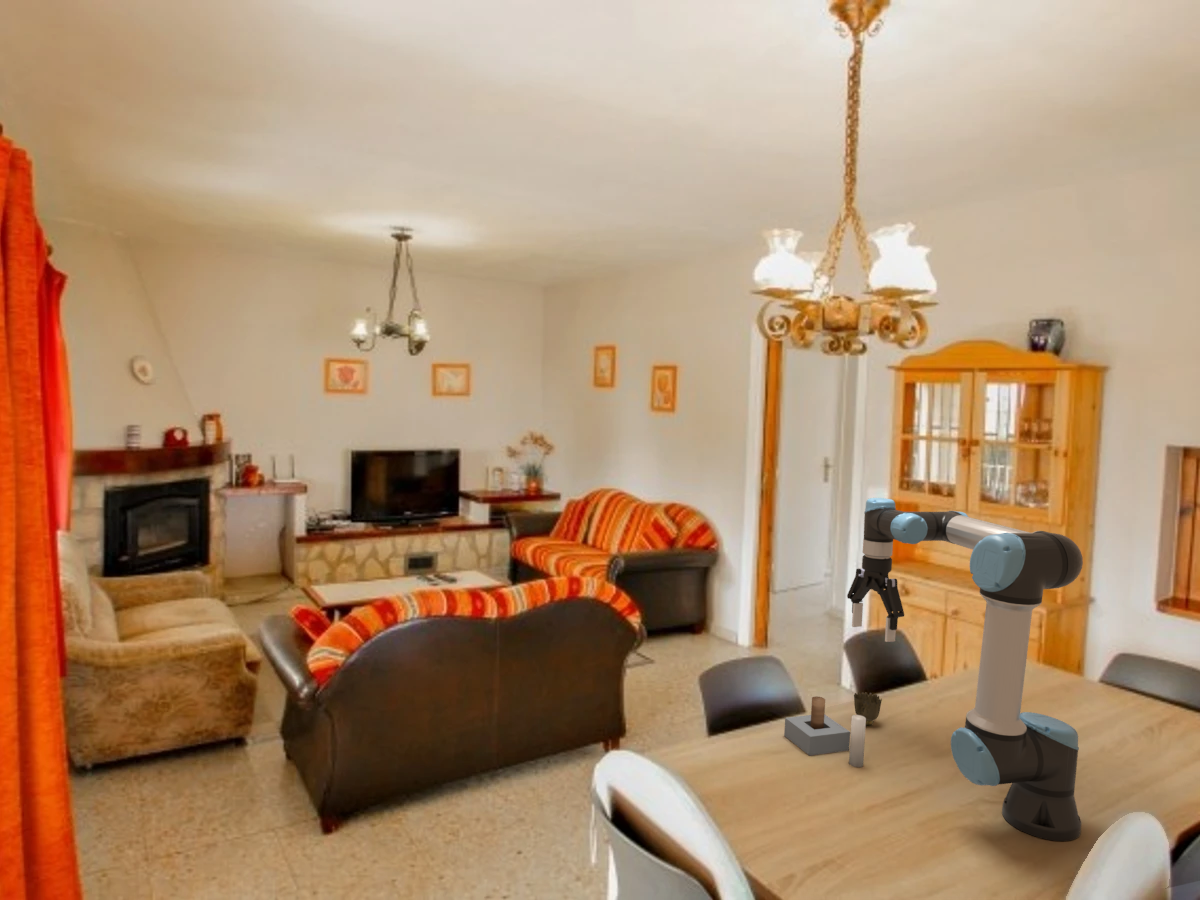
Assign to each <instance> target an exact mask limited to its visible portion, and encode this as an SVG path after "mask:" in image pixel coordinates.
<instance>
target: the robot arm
mask: <svg viewBox="0 0 1200 900" xmlns="http://www.w3.org/2000/svg"><path fill="white" fill-rule="evenodd" d="M864 510H865V511H864V518H863V519H864V521H863V522H864V523H863V540H862V541H863V542H862V553H863V556H862V558H861V559H862V560H861V568H856V571H855V576H854V579H853V581H852V583H851V585H850V588H849V591H848V593H847V595H846V597H847V599H850V601H851V606H852V607H851V613H852V618H851V619H852V620H851V627H852V628H858V627H863V614H864V613H863V611H864V610H863V609H864V608H863V607H864V603H863V599H864V598H865V597H866V595H867V594H868V593H869V591H870V590H872V591H874V592H876V593H877V595H879V596H880V598H881V601H882V603H883V606H884V608H885V610H886V612H887V614H888V615H887V616H886V618H885V629H884V631H885V632H884V642H886V643H889V642H890V643H891V642H896V634H897V633H896V632H897V629H898V619H899V618H903V617H905V612H904V607H903V604H902V603H903V602H902V600H901V599H902V598H901V595H900V592H899V589H898V579H897V578H890V577H889V574H890V573H891V572H892V567H893V565H892V564H893V558H892V556H893V551H894V549H893V545H894V544H893V543H894V540H895V541H898V542H901V543H902V544H910V545H916V544H919V543H921V542H928V541H929V542H933V541H934V542H935V541H938V542H939V541H940V542H941V541H942V542H946V543H949V544H954V545H956V546H960V547H963V548H967V549H970V550H972V552H971V554H970V559H969V571H970V574H972V576H971V579H972V581H973V582H974V584H975V585H976V586H977V587H978V588H979V595H980V596H981V597H982V599H984V601H986V604H985V613H984V623H983V630H982V631H983V633H982V638H981V639H982V641H981V649H980V659H979V665H978V666H979V668H978V675H977V676H978V677H977V685H976V686H977V687H976V694H975V695H976V696H975V706H974V707H973V708H972V709H970V710H968V711H967V712H966V716H965V724H964V727H959V728H957V729H956V730H954V731H953V733H952V734H951V737H950V750H951V754H952V756H953V757H952V758H953V761H954V763H955V764H956V767H957V769H959V772H960V773H961V775H963V777H964V778H966V780H968V781H969V782H971V783H972V784H974V785H977V786H991V787H996V786H997V785H1006V784H1011V785H1010V787H1009V789H1008V791H1007V792H1006V795H1005V798H1004V799H1003V802H1002V810H1001V814H1002V816H1003V818H1004V819H1005V821H1006V822H1008V824H1009V825H1011V826H1012V827H1014V828H1015V829H1017V830H1019V831H1021V832H1023V833H1026V834H1028V835H1030V836H1033V837H1036V838H1038V839H1039V838H1040V839H1043V840H1044V839H1045V840H1048V841H1057V842H1068V841H1074V840H1076V839H1078V838H1079V837H1080V836H1081V832H1082V820H1081V817H1080V816H1079V812H1078V808H1077V803H1076V799H1075V786H1076V775H1077V765H1078V757H1079V750H1080V748H1079V734H1078V732H1077V730H1076V729H1075V728H1074V727H1073V726H1072V725H1070V724H1069V723H1066V722H1065V721H1063V720H1060V719H1058V718H1055V717H1052V716H1049V715H1046V714H1042V713H1037V712H1032V711H1030V712H1029V711H1023V712H1021V709H1022V700H1023V692H1024V683H1025V675H1026V667H1027V659H1028V658H1027V657H1028V650H1029V640H1030V633H1031V626H1032V625H1031V623H1032V615H1033V610H1034V609H1035V608H1037V607H1038V606H1040V605H1042V603H1043V597H1044V590H1051V589H1060V588H1063V587H1066V586H1068V585H1070V584H1071V583H1073V582H1074V581H1075V580H1077V578H1078V577H1079V576H1080V574H1081V571H1082V569H1083V565H1084V562H1083V554H1082V552H1081V549H1080V547H1079V546H1078V545H1077V543H1075V542H1074V540H1072V539H1071V538H1070V537H1068V536H1066V535H1064V534H1060V533H1054V532H1049V531H1044V530H1036V531H1033V532H1029V531H1025V530H1021V529H1018V528H1014V527H1010V526H1006V525H1001V524H997V523H993V522H989V521H986V520H982V519H977V518H973V517H970V516H968V514H967V513H965V512H963V511H956V510H947V511H903V510H899V509H898V510H897V509H896V502H895V500H893V499H891V498H884V497H871V498H868V499H866V501H865V509H864Z"/></svg>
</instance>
